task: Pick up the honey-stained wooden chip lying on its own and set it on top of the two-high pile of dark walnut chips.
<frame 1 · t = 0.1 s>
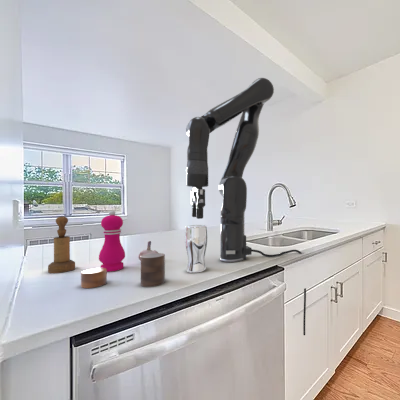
hand: (197, 217, 93), 17 cm above the countertop, tool pointing down, fingers open, 8 cm apart
walnut chip high: (153, 269, 73), point 4 cm above the countertop, touching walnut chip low
pepper mill: (112, 269, 86), on the countertop
oak chip: (94, 284, 71), on the countertop
wooden knobbed stamp: (62, 270, 84), on the countertop
beer glass: (196, 270, 86), on the countertop
garlic bulb: (149, 262, 95), on the countertop
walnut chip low: (153, 283, 73), on the countertop, touching walnut chip high
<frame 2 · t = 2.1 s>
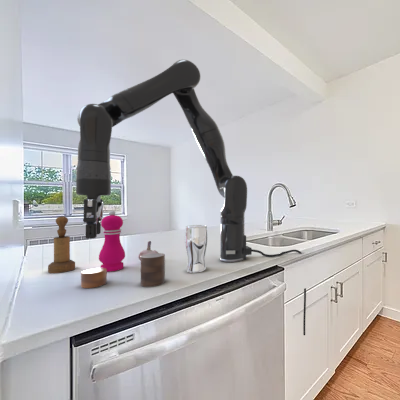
hand: (93, 236, 71), 14 cm above the countertop, tool pointing down, fingers open, 8 cm apart
nothing on the countertop moved.
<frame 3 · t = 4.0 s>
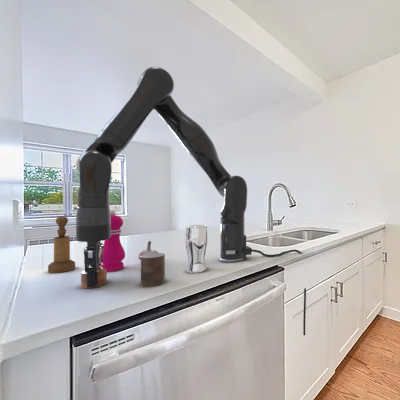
hand: (94, 282, 71), 1 cm above the countertop, tool pointing down, fingers closed on oak chip, 5 cm apart
oak chip: (94, 284, 71), on the countertop, touching gripper
everything else where it was.
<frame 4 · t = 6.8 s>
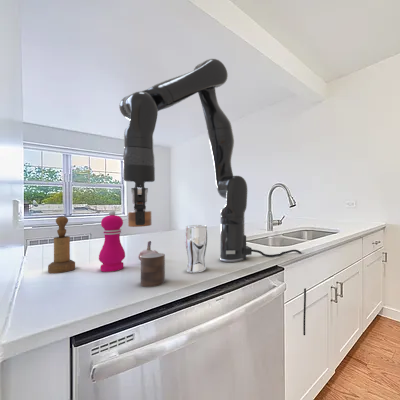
hand: (140, 223, 72), 17 cm above the countertop, tool pointing down, fingers closed on oak chip, 5 cm apart
oak chip: (140, 225, 72), point 17 cm above the countertop, touching gripper
everything else where it was.
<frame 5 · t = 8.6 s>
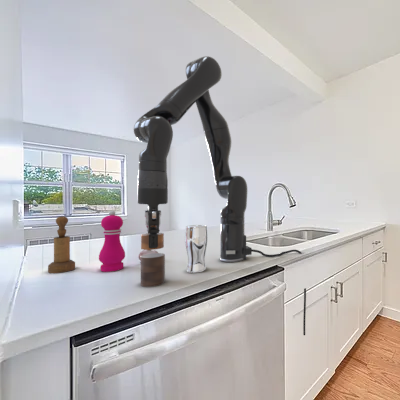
hand: (152, 246, 73), 11 cm above the countertop, tool pointing down, fingers closed on oak chip, 5 cm apart
oak chip: (152, 247, 72), point 10 cm above the countertop, touching gripper
everything else where it was.
when the fingers open (8 cm above the countertop, at t = 9.8 s): oak chip stays where it is, resting on walnut chip high.
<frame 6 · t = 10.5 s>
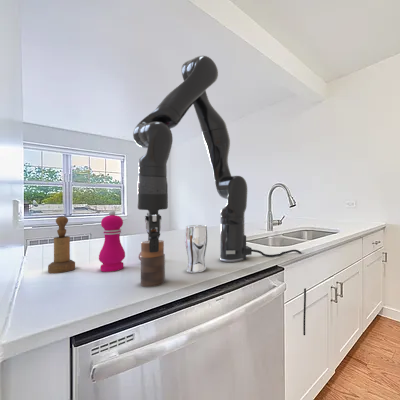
hand: (153, 249, 73), 10 cm above the countertop, tool pointing down, fingers open, 8 cm apart
walnut chip high: (153, 269, 73), point 4 cm above the countertop, touching oak chip, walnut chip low
oak chip: (152, 255, 73), point 8 cm above the countertop, touching walnut chip high
everything else where it was.
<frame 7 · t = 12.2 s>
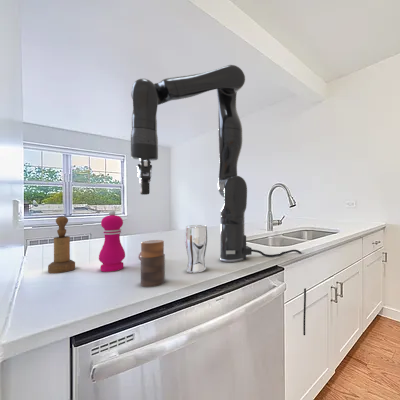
hand: (144, 194, 82), 26 cm above the countertop, tool pointing down, fingers open, 8 cm apart
nothing on the countertop moved.
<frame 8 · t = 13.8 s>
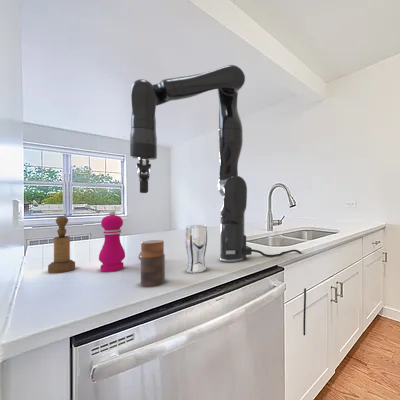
hand: (143, 192, 84), 26 cm above the countertop, tool pointing down, fingers open, 8 cm apart
nothing on the countertop moved.
at the end: oak chip 0.1 cm off-centre on the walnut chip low, point 8.0 cm above the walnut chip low's base; oak chip tilted 0°; walnut chip high moved 0.0 cm from its start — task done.
